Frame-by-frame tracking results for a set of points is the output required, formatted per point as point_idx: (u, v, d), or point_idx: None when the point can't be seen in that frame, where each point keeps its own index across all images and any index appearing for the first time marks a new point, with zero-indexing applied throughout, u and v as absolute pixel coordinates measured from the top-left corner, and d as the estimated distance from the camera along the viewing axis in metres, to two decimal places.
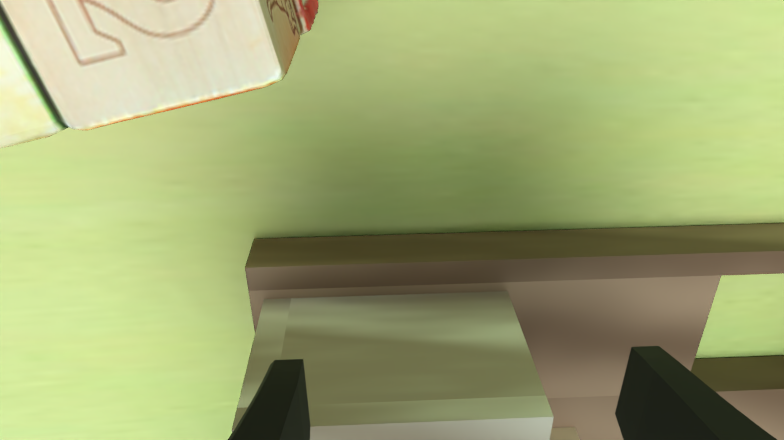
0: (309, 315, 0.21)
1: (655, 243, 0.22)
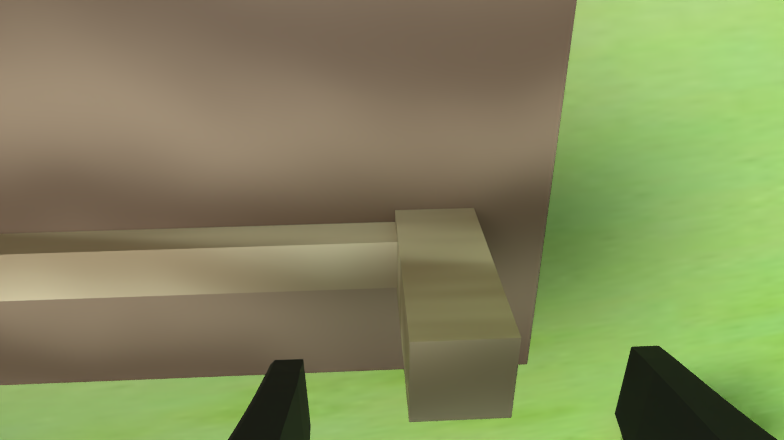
0: None
1: None
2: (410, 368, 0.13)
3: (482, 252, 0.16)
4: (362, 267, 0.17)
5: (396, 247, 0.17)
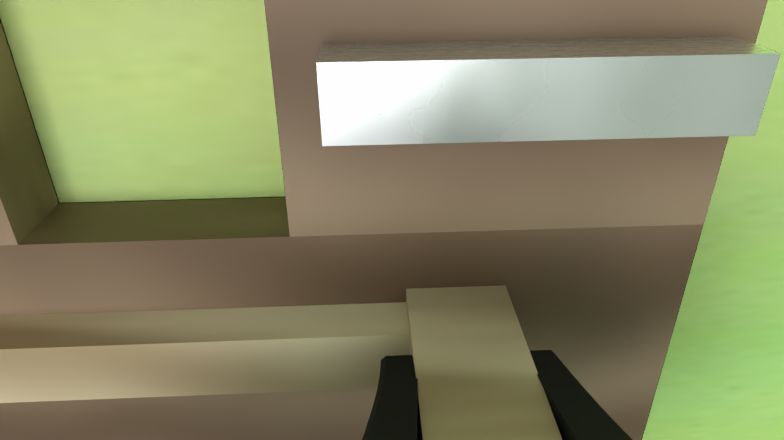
0: None
1: None
2: None
3: (522, 358, 0.12)
4: (364, 364, 0.14)
5: (408, 341, 0.13)
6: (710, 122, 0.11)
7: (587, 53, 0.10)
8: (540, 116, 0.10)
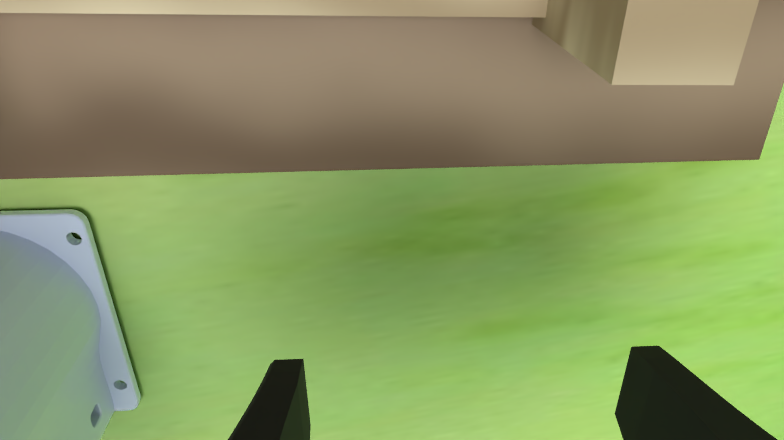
0: None
1: None
2: None
3: None
4: None
5: None
6: None
7: None
8: None
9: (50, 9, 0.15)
